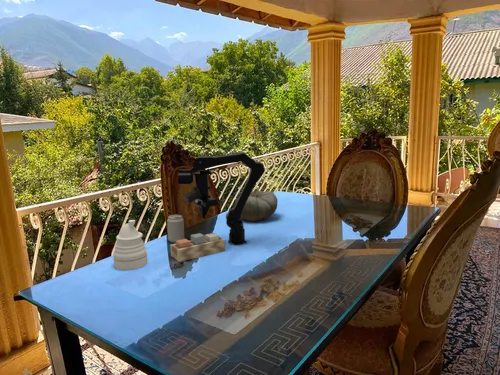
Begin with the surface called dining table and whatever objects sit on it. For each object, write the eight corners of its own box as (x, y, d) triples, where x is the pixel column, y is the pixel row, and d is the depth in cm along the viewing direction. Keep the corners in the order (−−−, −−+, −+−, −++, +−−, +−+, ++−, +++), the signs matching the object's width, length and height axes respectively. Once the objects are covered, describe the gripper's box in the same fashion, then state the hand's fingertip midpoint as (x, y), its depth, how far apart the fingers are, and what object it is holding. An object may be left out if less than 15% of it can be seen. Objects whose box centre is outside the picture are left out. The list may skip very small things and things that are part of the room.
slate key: (200, 244, 165) (200, 233, 164) (205, 247, 161) (204, 235, 160) (191, 246, 162) (190, 235, 161) (195, 249, 159) (195, 237, 158)
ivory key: (214, 243, 169) (213, 232, 168) (219, 246, 165) (218, 235, 164) (205, 245, 166) (205, 234, 165) (210, 248, 163) (209, 237, 162)
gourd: (287, 211, 218) (282, 182, 214) (266, 229, 199) (260, 198, 194) (251, 210, 232) (246, 183, 228) (228, 227, 213) (221, 198, 208)
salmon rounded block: (186, 249, 161) (185, 238, 160) (190, 252, 158) (190, 241, 157) (176, 252, 159) (175, 240, 158) (180, 255, 155) (180, 243, 154)
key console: (216, 245, 172) (215, 234, 171) (225, 250, 165) (224, 239, 164) (171, 256, 160) (170, 244, 159) (178, 262, 153) (178, 250, 152)
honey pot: (153, 259, 156) (151, 217, 153) (134, 271, 144) (131, 226, 141) (127, 256, 160) (124, 214, 157) (107, 267, 149) (102, 223, 145)
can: (180, 243, 175) (179, 218, 172) (165, 242, 176) (164, 217, 174) (186, 238, 182) (185, 214, 179) (172, 237, 183) (170, 213, 181)
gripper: (176, 183, 173) (178, 216, 176) (194, 189, 158) (196, 226, 161) (198, 180, 179) (200, 212, 182) (218, 186, 164) (219, 221, 167)
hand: (203, 218), depth 173 cm, fingers closed
